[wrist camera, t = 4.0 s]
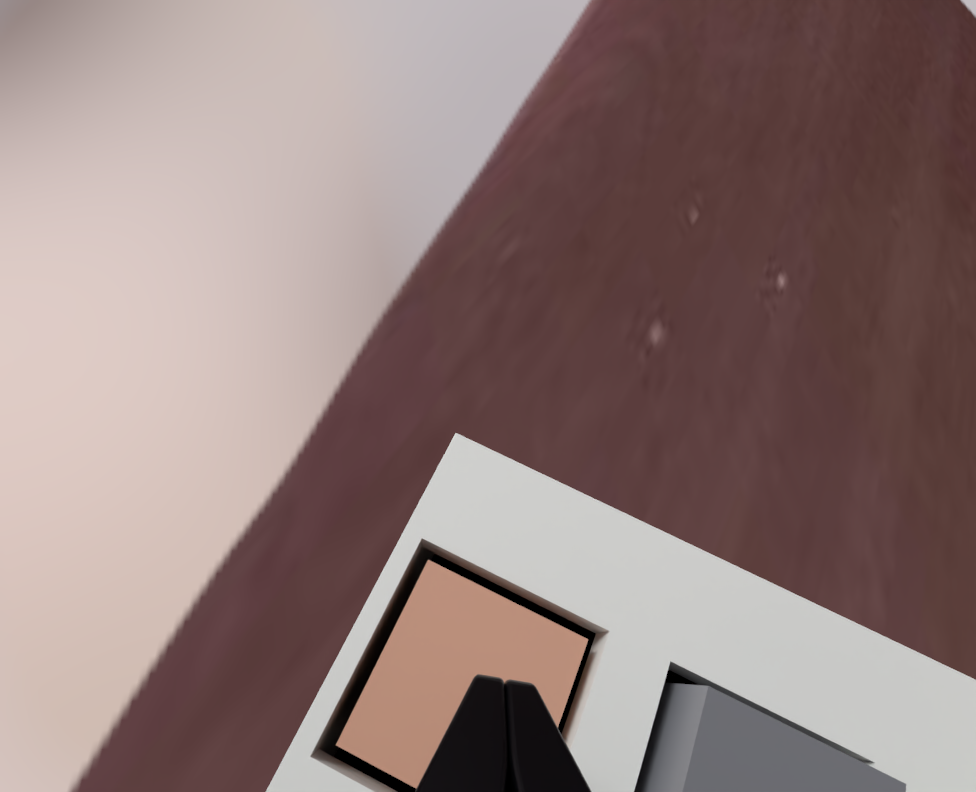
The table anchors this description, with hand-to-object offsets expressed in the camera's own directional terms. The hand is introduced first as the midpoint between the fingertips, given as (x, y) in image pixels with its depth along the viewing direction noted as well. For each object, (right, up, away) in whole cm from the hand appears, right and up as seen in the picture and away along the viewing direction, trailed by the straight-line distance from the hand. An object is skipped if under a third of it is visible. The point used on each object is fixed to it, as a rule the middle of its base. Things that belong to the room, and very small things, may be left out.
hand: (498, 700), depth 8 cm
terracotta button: (-1, -2, +5) cm, 6 cm away
